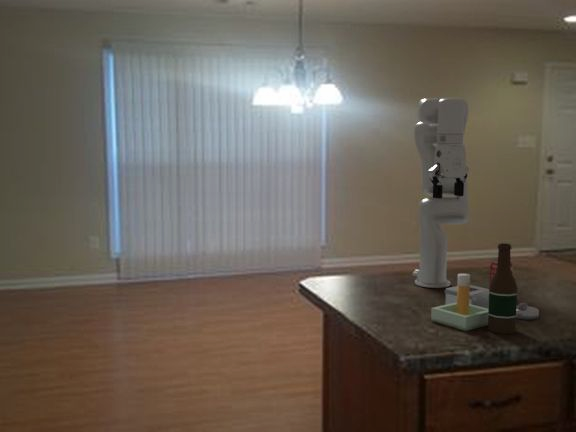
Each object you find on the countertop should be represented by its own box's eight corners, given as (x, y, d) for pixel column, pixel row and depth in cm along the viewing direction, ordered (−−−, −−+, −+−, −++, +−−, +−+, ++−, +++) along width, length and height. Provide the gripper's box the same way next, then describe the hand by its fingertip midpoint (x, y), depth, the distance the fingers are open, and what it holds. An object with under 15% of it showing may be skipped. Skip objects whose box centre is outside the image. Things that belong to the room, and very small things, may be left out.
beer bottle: (482, 326, 180) (485, 242, 178) (509, 326, 181) (512, 241, 178) (493, 335, 173) (496, 246, 170) (521, 334, 173) (525, 246, 171)
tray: (431, 320, 186) (431, 307, 186) (459, 313, 194) (459, 301, 193) (465, 330, 176) (466, 317, 176) (493, 323, 184) (494, 310, 183)
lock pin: (463, 321, 183) (464, 276, 181) (453, 318, 185) (455, 274, 184) (471, 319, 185) (472, 275, 183) (461, 317, 187) (463, 273, 186)
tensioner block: (444, 307, 201) (444, 288, 200) (467, 302, 208) (467, 283, 207) (469, 314, 193) (470, 294, 192) (493, 308, 200) (494, 289, 199)
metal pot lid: (500, 314, 193) (500, 302, 192) (518, 310, 198) (518, 298, 198) (526, 321, 185) (527, 309, 185) (544, 316, 191) (545, 304, 190)
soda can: (513, 303, 205) (515, 263, 204) (490, 302, 207) (491, 263, 205) (510, 298, 212) (512, 259, 211) (487, 297, 214) (489, 259, 212)
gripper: (440, 141, 185) (438, 200, 187) (478, 139, 195) (476, 196, 197) (420, 140, 191) (419, 197, 193) (458, 139, 201) (457, 193, 203)
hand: (448, 196), depth 195 cm, fingers open, 9 cm apart
